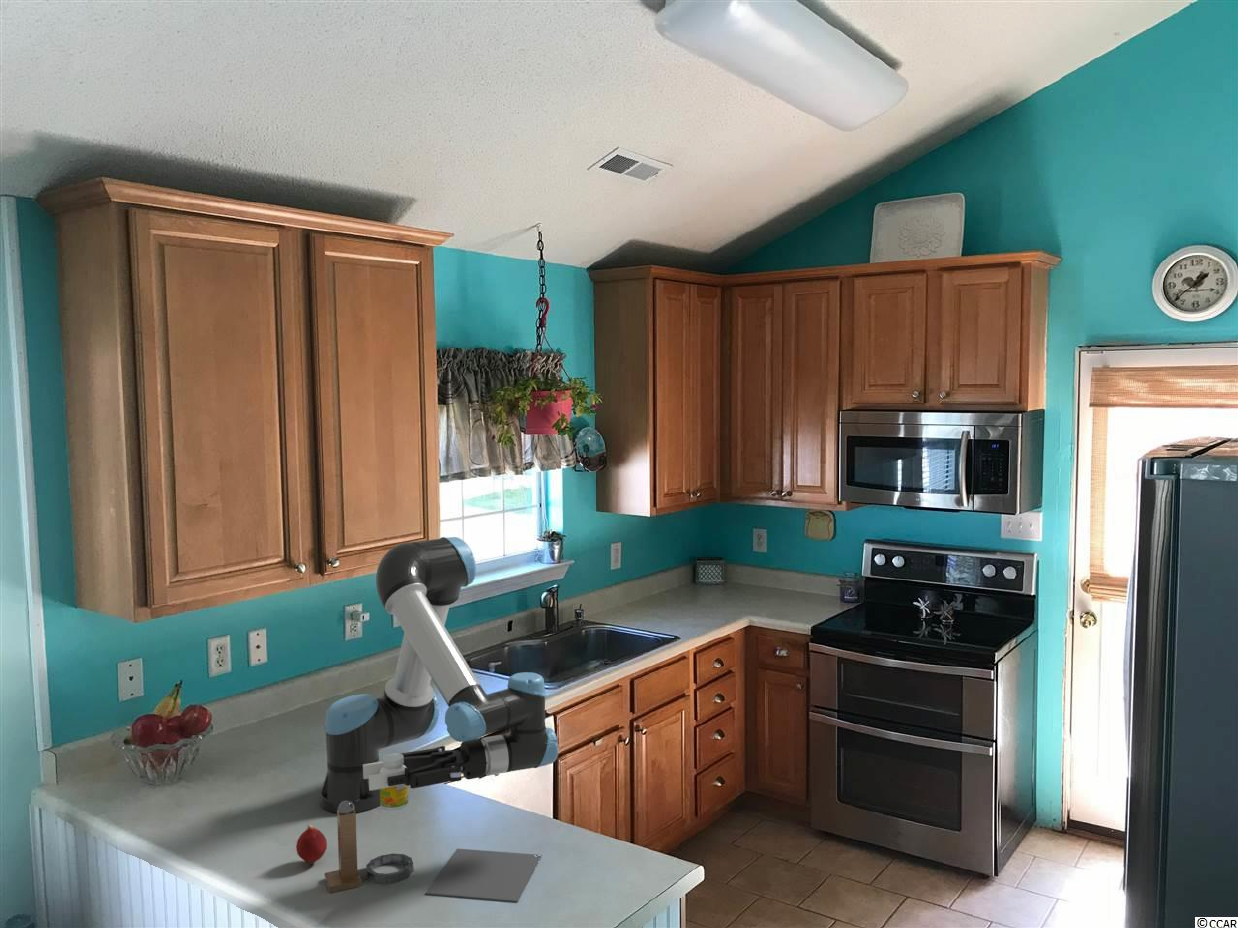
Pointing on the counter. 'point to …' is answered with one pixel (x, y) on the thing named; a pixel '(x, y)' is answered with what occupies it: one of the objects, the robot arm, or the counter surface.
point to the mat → (485, 875)
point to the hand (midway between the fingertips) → (366, 777)
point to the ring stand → (348, 857)
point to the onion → (311, 845)
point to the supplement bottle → (398, 794)
